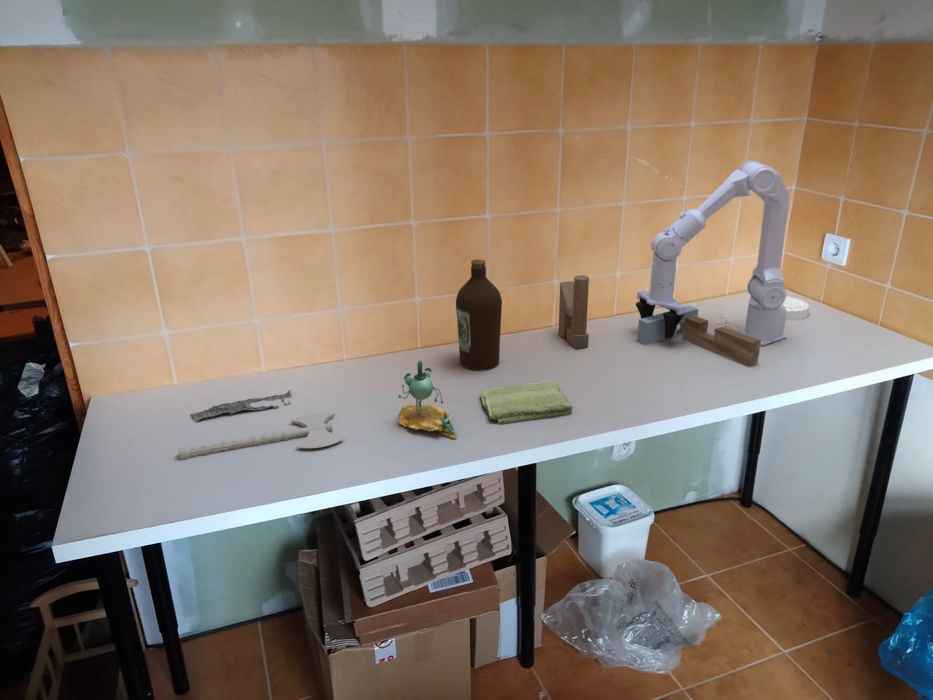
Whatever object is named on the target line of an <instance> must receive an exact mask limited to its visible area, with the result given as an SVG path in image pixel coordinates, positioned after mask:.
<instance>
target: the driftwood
mask: <svg viewBox="0 0 933 700" xmlns="http://www.w3.org/2000/svg"><path fill="white" fill-rule="evenodd" d="M289 398H290V399H291V398H292V393H291V390H287V392H286V393H283V394H273V395H271V396H265V397H258V398H254V397H252V398H248V399H244V400H237V401H234V402H226V403H220V404H218V405H212V406H211V407H209V409H205V410H202V411H199V412H196V413H195V412H194V413H191V416H192V418H193V420H194V421H195V422H196V423H197V422H199V421H200V420H203V419H206V418H209V417H210V418H213V417H216V416H218V415H222V414H223V413H224V414H225V413H229V415H230V416H232V415H233V414H235V413H237V412H240V411H243V410H246V411H247V410H248V411H260V410H266V409H269V408H274V409H279V408H280V406H279V405H276V406H275V405H269V406H264V405H262V406H258V407H257V406H255V407H254V406H252V405H251V404H255V403H259V402H262V401H267V402H269V401H270V402H274V401H277V400H280V402H281V403H282V404H283V406H288V405H289V406H290V405H291V402H289V401H288V402H285V399H289ZM284 402H285V403H284Z"/></svg>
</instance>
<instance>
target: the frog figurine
mask: <svg viewBox="0 0 933 700" xmlns="http://www.w3.org/2000/svg"><path fill="white" fill-rule="evenodd" d="M427 371H429V372H427ZM430 373H432V369H431V368H429V367H425V369H424V372H423V360H420V359H419V360H418V361H417V374H414V375H413V377H411V373H410V372H408V373H407V374H405V376H404V378H403V380H404V383H405V384H404V383H403V384H401V388H402V393H403V395H406V394H407V395H406V396H402V395H401V394H400V393H399V394H398V399H401V398H402V399H405V400H406V399H407V398H408V396H409V394H410V395H411V396H412V397H413V398H414V399H415V400H416V402H415V404H410V403H409V404H407V405H404V406H403V407H401V409H400V410H399V413H398V414H399V419H398V422H399V425H401V426H403V427H405V428H407V427H408V428H410V429H412V430H424V431H427V432H435V431H439V432H438V434H439V435H444V436H445V437H447V438H449V439H455V440H456V439H457V435H458V434H457V433H456V432H455V429H454V426H453V424H452V419H453V418H452V419H451V417H450V415H449V414H448V412H447V411H444V410H443V409H442V408H441V407H439V406H436V405H433V404H429V405H426V404H423V405H422V401H423V400H426V399H428V398H430V397H431V396H432V393H433V390H434V391H435V393H436V397H435V398H434V402H435V403H437V400H438V396H440V403H441V404H444V401H443V399H442V395H441V394H442V393H441V390H440V389H438V388H436V387H435V386H434V385H433V382H432V379H431V374H430ZM405 385H406V386H408V390H407V391H405V389H404V388H405V387H404V386H405ZM438 392H439V393H438ZM444 427H445V428H444Z"/></svg>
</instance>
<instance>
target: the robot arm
mask: <svg viewBox="0 0 933 700" xmlns="http://www.w3.org/2000/svg"><path fill="white" fill-rule="evenodd" d="M782 177H783V176H782V174H781V173H779V172H778V171H777V170H776V169H775V168H773V167H771V166H769V165H765V164H762V163H761V162H760V161H756V160H748V161H746V162H744V163H743V164H742V165H740V166H739V168H738V169H736V170H734V171H733V172H731V174H730V175H729V176H728V178H727V179H726V180H725V181H724V182H723V183H722V184H720V185H719V187H717V188H716V190H714V192H713V193H712V194H711V195H710V196H708V197H707V198H706V199H705V200H704V201H703V202H702V204H700V205H699V206H698V207H697V208H696V209H688V210H686V211H685V212H684V211H681V213H679V214H678V215H679V218H678V219H676V220H675V221H674V222H673V223H672V224H671V225H670V226H669V227H667V226H665V228H664V229H663V231H662V232H658V233H657V234H656V235H655V236H654V237H653V238H652V241H651V242H650V248H651V250H652V251H653V255H652V256H653V257H652V263H651V271H650V282H649V283H650V284H649V291H646V290H640V291H637V292H636V299H637V300H639V301H637V302H635V306H636V308H637V311H638V313H639V317H640V319H643V318H646V317H650V316H653V314H654V312H655V308H656V306H658V307H661V308H663V309H666V310H668V311H669V312H668V311H665V313H664V312H662V313H663V316H664V321H665V338H666V340H668V339H672V338H674V337H673V335H674V332H675V330H676V327H677V328H678V325H679V324H678V323H679V322H680V320H681V319H682V318H683V316H684V315H685V310H686V306H687V305H684V304H682V303H680V302H679V301H678V300H676V299H675V298H674V291H675V281H676V273H677V272H676V271H677V258H678V257H679V256H680V255H681V253H682V248H683V247H684V246H685V245H686V244H688V243H689V242H690V241H691V240H692V239H693V238H695V237H696V236H697V235H698V234H699V233H700V232H701V231H702V230H704V229H705V227H706V224H707V223H706V222H707V220H708V219H709V218H710V217H711V216H712V215H714V214H715V213H716V212H718V211H719V210H720V209H721V208H723V207H724V206H726V205H727V204H728V203H729V202H730V201H731V200H733V199H735V198H738V197H740V198H741V197H748V196H751V193H750V191H752V192H753V193H754V194H756V196H757V197H759V198H760V199H761V200H762V201H763V203H764V204H763V214H762V222H761V229H760V230H761V232H760V240H759V247H758V256H757V264H756V267H754V269H753V270H752V275H751V278H750V280H749V281H748V283H747V287H746V288H747V292H748V294H749V295H750V299H749V300H748V307H747V311H746V313H747V314H746V319H745V325H744V331H743V332H741V333H743V334H746V335H749V336H751V337H754V338H757V339H759V340H761V344H760V346H762V347H763V346H765V345H769V344H771V343H775V342H777V341H780V340H784V339H786V338H787V336H786V335H784V331H785V326H786V325H785V324H786V321H787V320H786V314H787V313H786V309H785V307H784V305H783V302H784V301H785V298H786V296H787V292H786V289H785V285H784V284H785V283H784V282H785V279H784V275H783V273H782V269H781V267H782V261H783V258H782V257H783V250H784V244H785V236H786V228H787V220H788V213H789V204H790V192H789V191H788V189H787V187H786V185H785V183H784V181H783V178H782Z"/></svg>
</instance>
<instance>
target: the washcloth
mask: <svg viewBox="0 0 933 700" xmlns="http://www.w3.org/2000/svg"><path fill="white" fill-rule="evenodd" d="M479 396H480V397H481V402H482V406H483V407H484V408H485V409H486V412H487V414H488V417H489V419H490V420H493V421H495V420H497V424H498V425H504V424H512V423H519V422H524V421H526V422H527V421H532V420H541V419H545V418H552V417H553V418H554V417H560V416H566V415H567V416H568V414H570V413H572V411H573V409H574V407H573V404H571V402H570V401H569V400H568V399H567V397H566V396H565V395H563V394H562V393H561V389H560V386H559V385H558V383H556V382H555V381H553V380H552V379H551V380H548V379H547V380H543V381H539V382H535V383H534V382H532V383H531V382H530V383H529V382H527V383H524V384H523V383H522V384H517V385H512V386H511V385H510V386H502V387H501V386H500V387H491V388H488V389H485V390H483V391H482V392H480V393H479Z"/></svg>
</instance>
